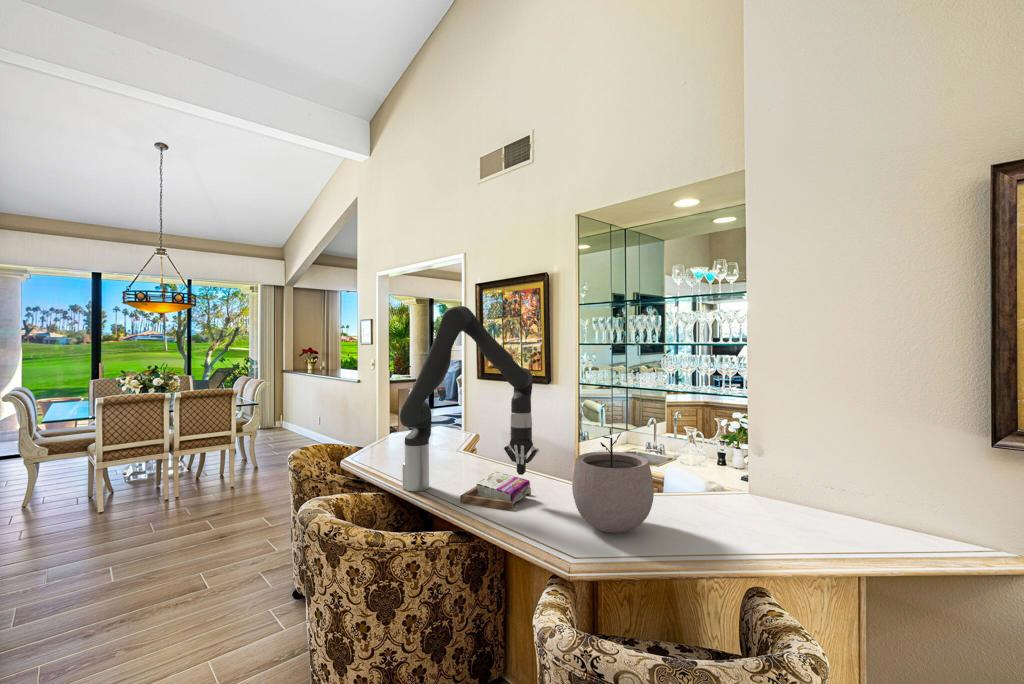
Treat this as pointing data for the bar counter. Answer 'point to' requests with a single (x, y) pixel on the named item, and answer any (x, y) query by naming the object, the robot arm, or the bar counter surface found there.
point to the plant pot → (613, 489)
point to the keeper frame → (485, 500)
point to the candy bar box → (503, 487)
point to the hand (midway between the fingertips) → (521, 474)
